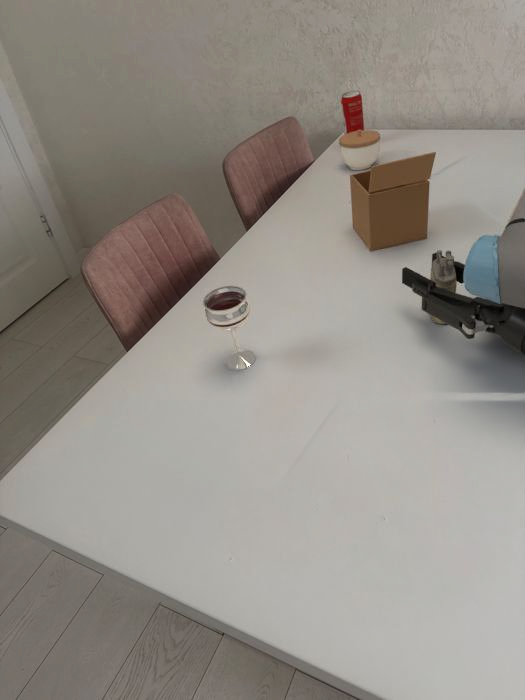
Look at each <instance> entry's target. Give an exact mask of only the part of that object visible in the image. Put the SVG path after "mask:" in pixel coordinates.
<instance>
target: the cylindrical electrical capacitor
mask: <svg viewBox="0 0 525 700" xmlns="http://www.w3.org/2000/svg"><path fill="white" fill-rule="evenodd" d="M436 253H437V255H436V256H437V259H435V260H434V261H433V263H432V262H431V268H430V278H429V279H430V280H431V281H433V282H435V283H436V285H435V287H437V288H440V289H443V290H447V291H450V292H453V293H457V285H458V282H457V281H456V273H455V268H454V261H455V256H454V255H452V251H451V250H446V251H445V257H446V258H441V256H443V250H441V249H438V250H437V251H436ZM430 320H431V321H432V322H434V323H436V324H440V325H446V324H447V323H445V322H443V321H441V320H439V319H438V318H436V317H434V316H432V315H430ZM447 325H448V324H447Z"/></svg>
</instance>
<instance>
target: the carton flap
mask: <svg viewBox="0 0 525 700" xmlns="http://www.w3.org/2000/svg"><path fill="white" fill-rule="evenodd" d="M436 154H437V152H436V151H432V152H428V153H423V154H419V155H415V156H411V157H406V158H402V159H398V160H392V161H389V162H383V163H380V164H375V165H372V166H371V167H370V170H371V174H370V184H369V193H370V192H375V191H379V190H384V189H388V188H392V187H397V186H401V185H405V184H410V183H414V182H419V181H423V180H430V179H431V175H432V173H433V172H432V171H433V167H434V164H435V159H436Z"/></svg>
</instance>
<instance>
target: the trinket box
mask: <svg viewBox="0 0 525 700" xmlns="http://www.w3.org/2000/svg"><path fill="white" fill-rule="evenodd" d="M338 144H339V152H340V156H341V159H342V161H343V162H344V164H345V165H346V166H348V168H349V170H353V171H363V170H367V169H369V168H371V166H373V164H374V163H375V162H376V161H377V158H378V156H379V153H380V148H381V133H380V132H378V131H376V130H370V129H364V130H357V131H354V132H350V133H347V134H345V135H344V134H343V135H341V136H340V137H339V139H338Z"/></svg>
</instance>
